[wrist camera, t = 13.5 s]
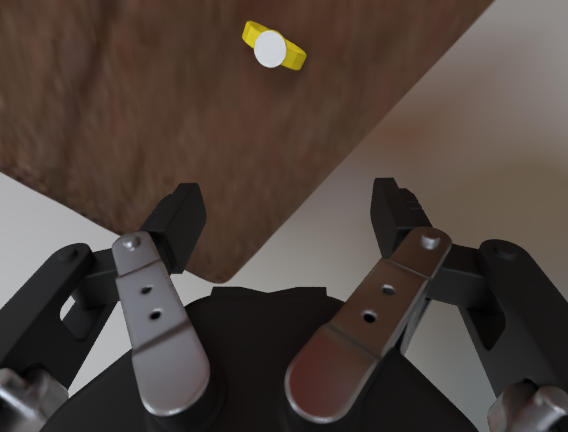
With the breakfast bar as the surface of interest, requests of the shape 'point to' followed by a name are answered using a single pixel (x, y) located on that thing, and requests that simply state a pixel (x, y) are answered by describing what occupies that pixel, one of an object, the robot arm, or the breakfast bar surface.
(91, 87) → the breakfast bar surface
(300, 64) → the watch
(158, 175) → the breakfast bar surface
